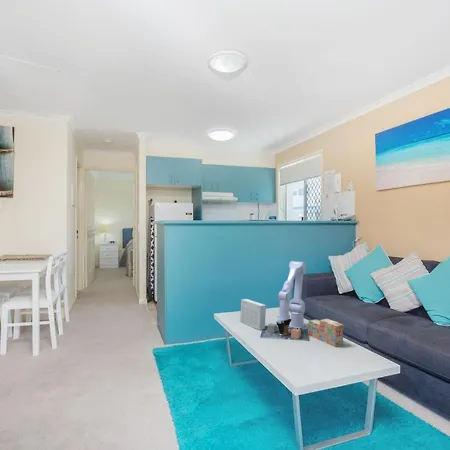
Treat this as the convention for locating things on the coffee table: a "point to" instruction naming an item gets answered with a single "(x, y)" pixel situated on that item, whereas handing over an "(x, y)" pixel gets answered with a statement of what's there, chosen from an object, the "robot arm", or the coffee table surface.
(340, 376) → the coffee table surface
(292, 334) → the terracotta cube
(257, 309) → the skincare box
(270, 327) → the grey cube
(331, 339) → the stack of blocks
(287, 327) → the walnut block
